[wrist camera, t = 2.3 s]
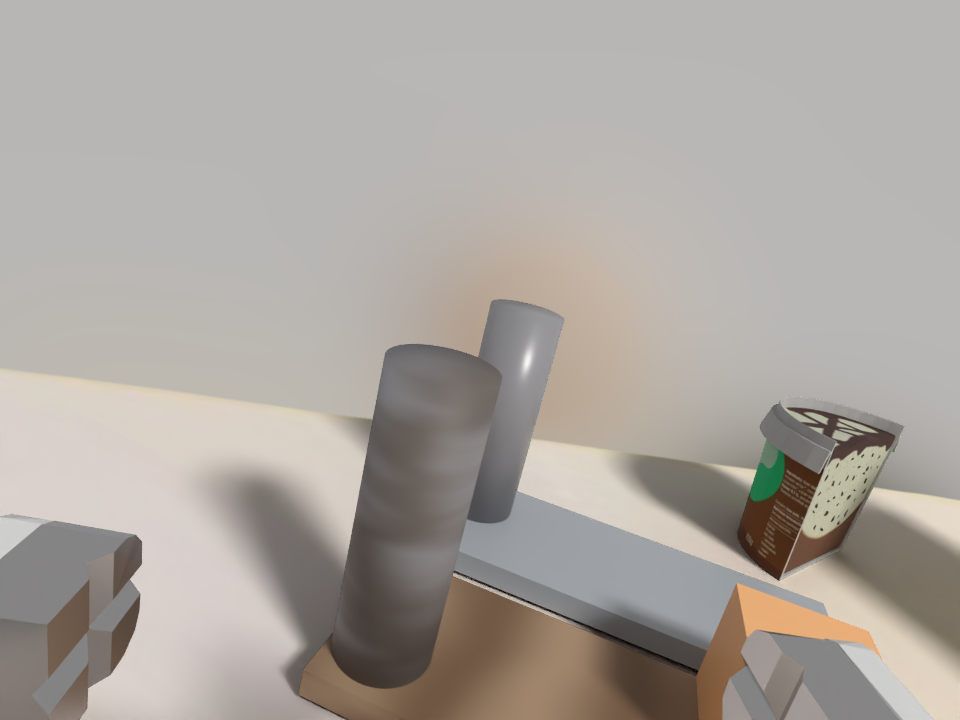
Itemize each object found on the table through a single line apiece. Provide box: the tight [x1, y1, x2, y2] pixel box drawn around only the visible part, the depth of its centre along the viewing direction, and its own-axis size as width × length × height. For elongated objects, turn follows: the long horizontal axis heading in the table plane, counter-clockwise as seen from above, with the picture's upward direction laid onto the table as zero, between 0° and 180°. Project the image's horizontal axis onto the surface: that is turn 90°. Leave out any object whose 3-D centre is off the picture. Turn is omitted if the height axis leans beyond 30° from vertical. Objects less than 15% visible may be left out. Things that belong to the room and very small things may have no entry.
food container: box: [737, 396, 904, 581], centre depth 41 cm, size 12×6×10 cm, turn 126°
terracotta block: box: [696, 583, 883, 720], centre depth 22 cm, size 5×5×5 cm
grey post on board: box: [299, 344, 699, 720], centre depth 21 cm, size 22×8×13 cm, turn 72°
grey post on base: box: [454, 300, 828, 671], centre depth 30 cm, size 22×8×13 cm, turn 72°
